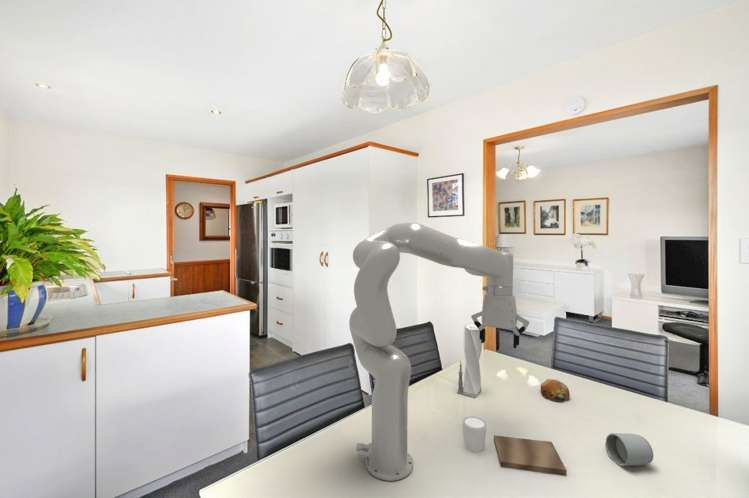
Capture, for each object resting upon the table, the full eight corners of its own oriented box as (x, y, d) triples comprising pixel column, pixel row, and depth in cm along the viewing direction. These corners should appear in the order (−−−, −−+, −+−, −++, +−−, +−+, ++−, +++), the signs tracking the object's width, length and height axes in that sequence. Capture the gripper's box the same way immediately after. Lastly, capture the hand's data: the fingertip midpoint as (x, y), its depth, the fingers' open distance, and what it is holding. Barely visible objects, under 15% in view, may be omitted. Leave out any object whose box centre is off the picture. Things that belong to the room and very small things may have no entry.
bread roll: (569, 405, 129) (570, 383, 132) (568, 404, 121) (569, 381, 124) (541, 398, 134) (542, 377, 137) (538, 397, 126) (539, 375, 129)
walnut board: (500, 467, 89) (500, 461, 89) (493, 440, 101) (493, 435, 101) (566, 475, 86) (566, 469, 86) (551, 446, 98) (551, 441, 98)
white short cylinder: (488, 454, 94) (488, 430, 94) (462, 451, 95) (463, 427, 95) (485, 440, 101) (485, 417, 101) (461, 437, 102) (461, 415, 102)
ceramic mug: (656, 470, 88) (656, 441, 88) (627, 473, 87) (628, 443, 87) (622, 446, 98) (622, 420, 98) (596, 448, 97) (596, 421, 97)
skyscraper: (465, 385, 138) (466, 317, 137) (485, 390, 133) (486, 320, 132) (457, 393, 131) (458, 322, 130) (477, 399, 126) (478, 325, 125)
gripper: (469, 290, 107) (468, 343, 108) (528, 295, 99) (527, 352, 99) (474, 287, 114) (473, 337, 114) (530, 291, 105) (529, 345, 106)
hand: (498, 344), depth 107 cm, fingers open, 9 cm apart
